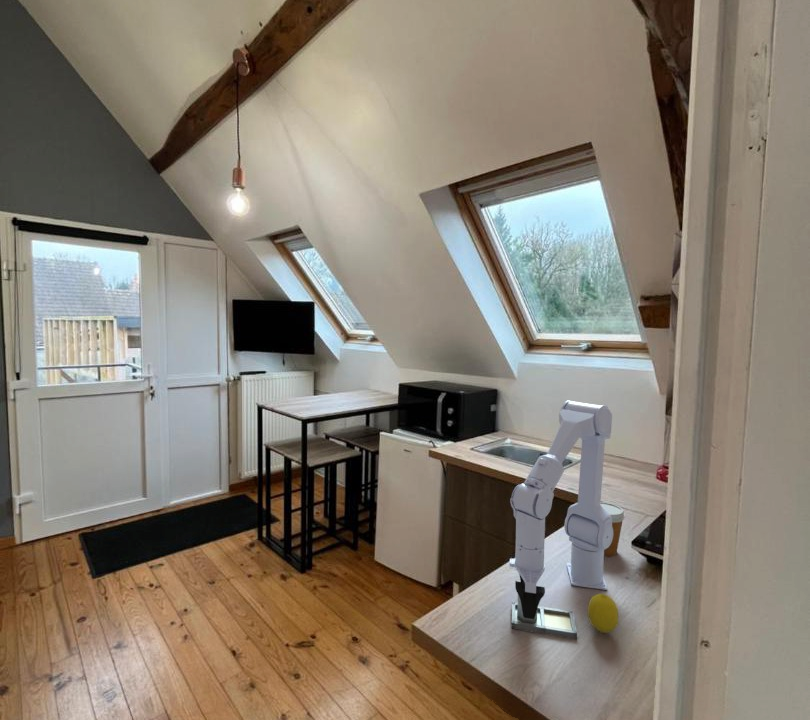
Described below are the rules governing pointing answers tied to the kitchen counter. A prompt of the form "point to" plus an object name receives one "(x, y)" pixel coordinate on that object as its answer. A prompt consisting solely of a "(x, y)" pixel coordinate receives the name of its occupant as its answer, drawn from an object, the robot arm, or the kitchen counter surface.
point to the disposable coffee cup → (614, 526)
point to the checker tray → (548, 622)
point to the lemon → (603, 613)
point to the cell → (520, 614)
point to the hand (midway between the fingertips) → (528, 605)
